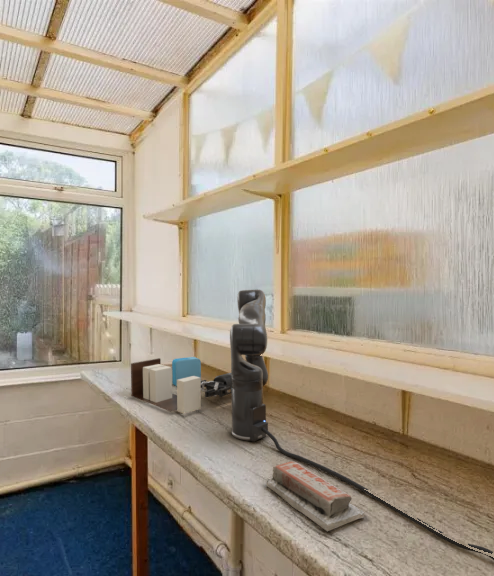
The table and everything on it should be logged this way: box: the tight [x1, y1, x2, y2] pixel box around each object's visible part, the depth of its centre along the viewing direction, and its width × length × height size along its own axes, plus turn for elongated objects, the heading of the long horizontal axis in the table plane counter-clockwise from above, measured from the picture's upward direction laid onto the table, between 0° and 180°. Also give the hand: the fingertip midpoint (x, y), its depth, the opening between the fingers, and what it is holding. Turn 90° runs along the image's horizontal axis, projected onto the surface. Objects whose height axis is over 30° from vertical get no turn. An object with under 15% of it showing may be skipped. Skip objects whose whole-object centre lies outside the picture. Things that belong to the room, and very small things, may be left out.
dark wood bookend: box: [130, 357, 177, 412], centre depth 147 cm, size 25×14×14 cm, turn 40°
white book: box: [143, 363, 165, 400], centre depth 150 cm, size 4×8×12 cm, turn 130°
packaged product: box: [266, 461, 365, 532], centre depth 80 cm, size 18×5×10 cm
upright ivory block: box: [176, 376, 202, 415], centre depth 135 cm, size 4×8×12 cm, turn 130°
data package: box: [171, 356, 202, 387], centre depth 169 cm, size 12×4×12 cm, turn 113°
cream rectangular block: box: [150, 365, 173, 403], centre depth 147 cm, size 4×8×12 cm, turn 130°
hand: (197, 391), depth 137 cm, fingers open, 8 cm apart
